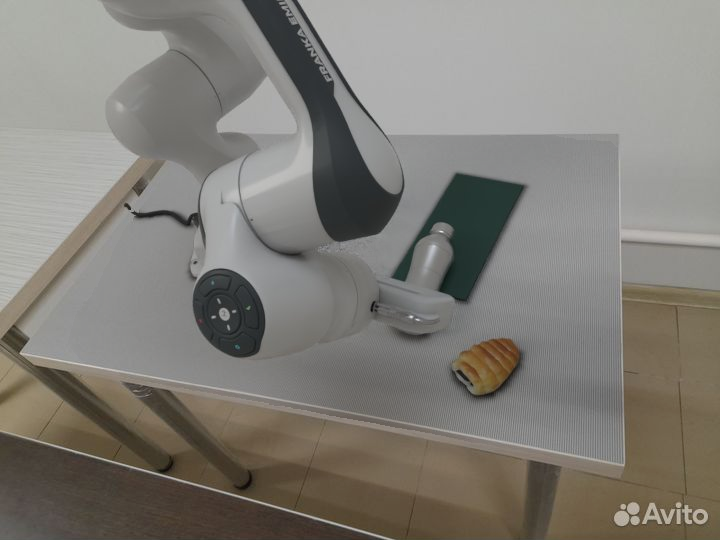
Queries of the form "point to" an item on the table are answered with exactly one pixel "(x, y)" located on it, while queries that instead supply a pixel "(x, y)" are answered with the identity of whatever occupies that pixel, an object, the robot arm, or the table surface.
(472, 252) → the mat
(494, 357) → the pastry
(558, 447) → the table surface
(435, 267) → the plastic bottle
